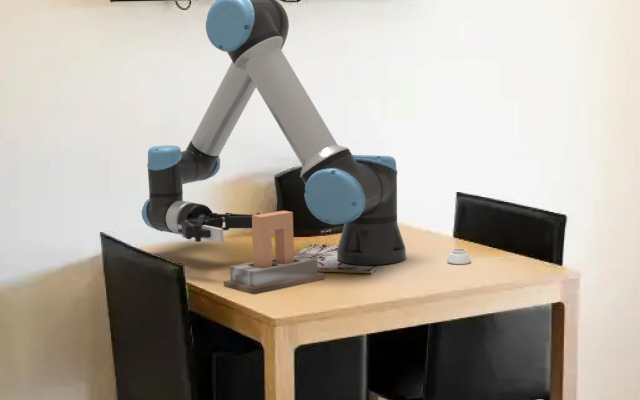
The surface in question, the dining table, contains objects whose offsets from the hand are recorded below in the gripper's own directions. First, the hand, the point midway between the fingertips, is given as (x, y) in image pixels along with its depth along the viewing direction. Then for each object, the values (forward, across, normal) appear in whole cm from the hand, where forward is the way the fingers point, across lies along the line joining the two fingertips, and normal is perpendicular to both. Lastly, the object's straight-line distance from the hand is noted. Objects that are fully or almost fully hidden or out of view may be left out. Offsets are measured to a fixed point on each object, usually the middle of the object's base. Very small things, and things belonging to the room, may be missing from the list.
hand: (248, 231), depth 219 cm
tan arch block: (+8, 0, -9) cm, 12 cm away
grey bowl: (+22, -39, -10) cm, 46 cm away
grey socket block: (+8, 0, -10) cm, 12 cm away
